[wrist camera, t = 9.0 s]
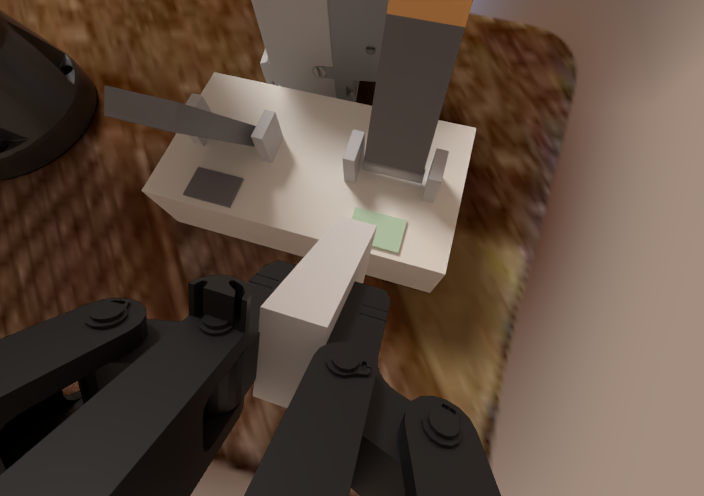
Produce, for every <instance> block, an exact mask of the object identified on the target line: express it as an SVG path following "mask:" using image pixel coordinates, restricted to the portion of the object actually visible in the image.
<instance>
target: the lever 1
mask: <svg viewBox="0 0 704 496" xmlns="http://www.w3.org/2000/svg"><path fill="white" fill-rule="evenodd" d="M104 116H108V117H112V118H116V119H121V120H125V121H129V122H133V123H137V124H141V125H145V126H149V127H153V128H157V129H161V130H166V131H170V132H174V133H179V134H185V135H190V136H196V137H202V138H207V139H213V140H219V141H224V142H230V143H236V144H241V145H247V146H253V147H255V145H254V143H253V140H252V138H251V135H252V133H253V131H254V129H255V127H256V126H254V125H251V124H248V123H244V122H241V121H238V120H234V119H231V118H228V117H225V116H221V115H218V114H215V113H212V112H208V111H205V110H202V109H199V108H195V107H192V106H189V105H185V104H182V103H179V102H175V101H171V100H166V99H162V98H158V97H153V96H149V95H145V94H140V93H136V92H132V91H127V90H123V89H119V88H114V87H110V86H106V85H105V92H104Z"/></svg>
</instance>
